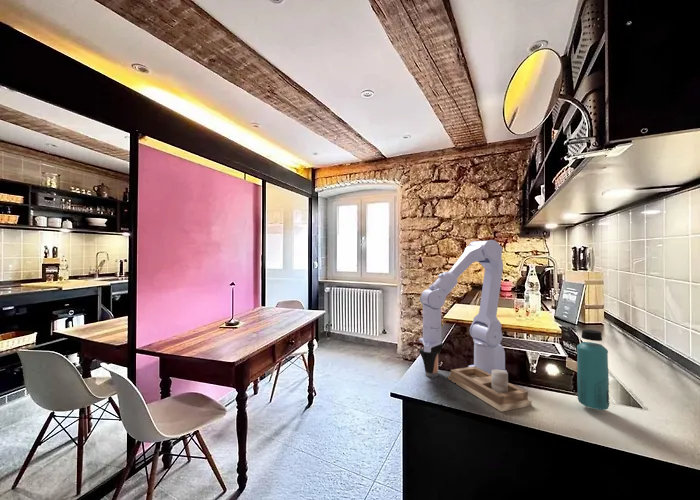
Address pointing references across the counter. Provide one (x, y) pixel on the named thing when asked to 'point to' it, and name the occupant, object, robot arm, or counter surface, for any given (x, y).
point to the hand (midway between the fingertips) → (431, 368)
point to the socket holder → (491, 387)
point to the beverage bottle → (592, 372)
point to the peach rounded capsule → (435, 371)
